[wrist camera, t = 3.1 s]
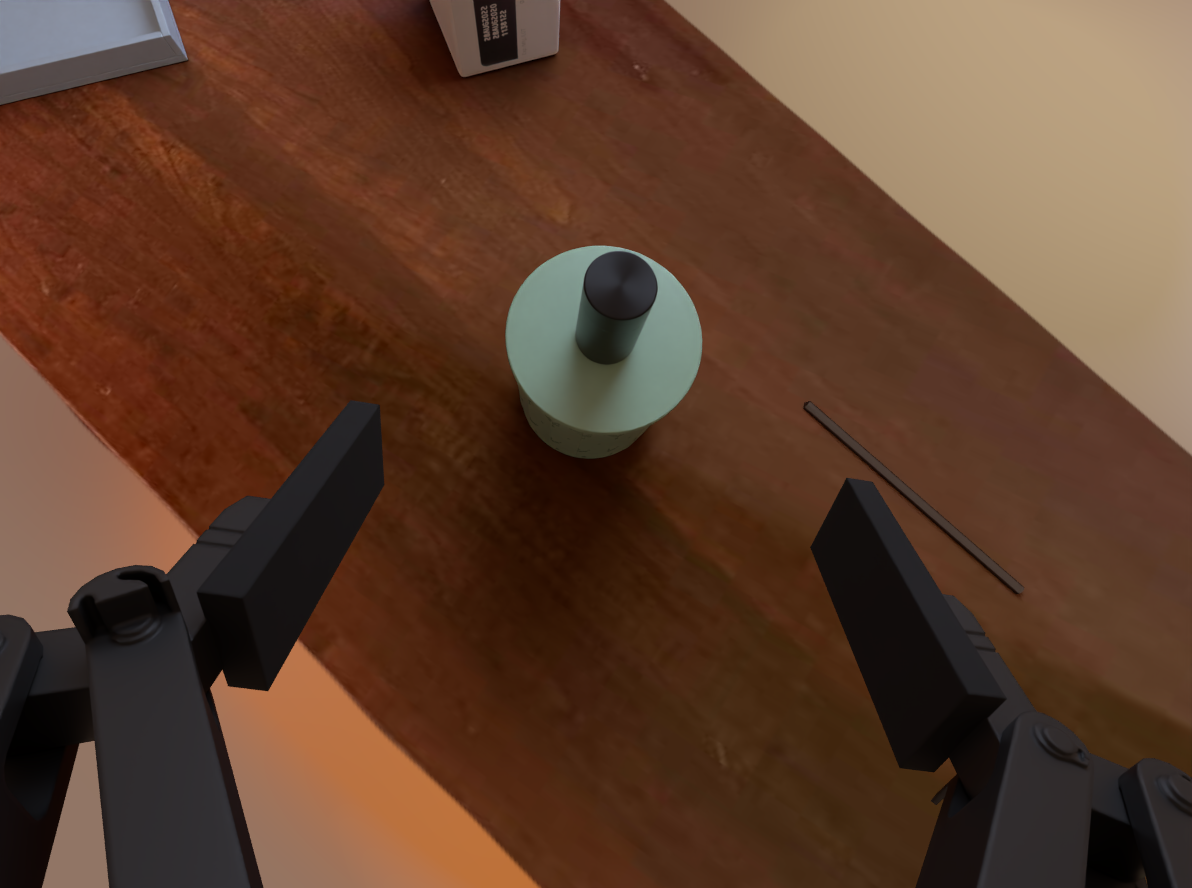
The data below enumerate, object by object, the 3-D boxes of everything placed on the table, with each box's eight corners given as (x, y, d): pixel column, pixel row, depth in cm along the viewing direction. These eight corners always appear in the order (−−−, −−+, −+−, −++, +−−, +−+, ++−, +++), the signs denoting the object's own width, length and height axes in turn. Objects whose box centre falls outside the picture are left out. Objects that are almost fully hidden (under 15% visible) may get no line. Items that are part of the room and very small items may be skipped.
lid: (548, 466, 27) (551, 440, 21) (479, 290, 29) (460, 214, 22) (726, 398, 29) (780, 353, 22) (652, 234, 30) (682, 147, 24)
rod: (805, 400, 39) (809, 398, 39) (1017, 585, 38) (1026, 586, 38) (799, 407, 39) (803, 405, 39) (1012, 593, 38) (1020, 594, 37)
